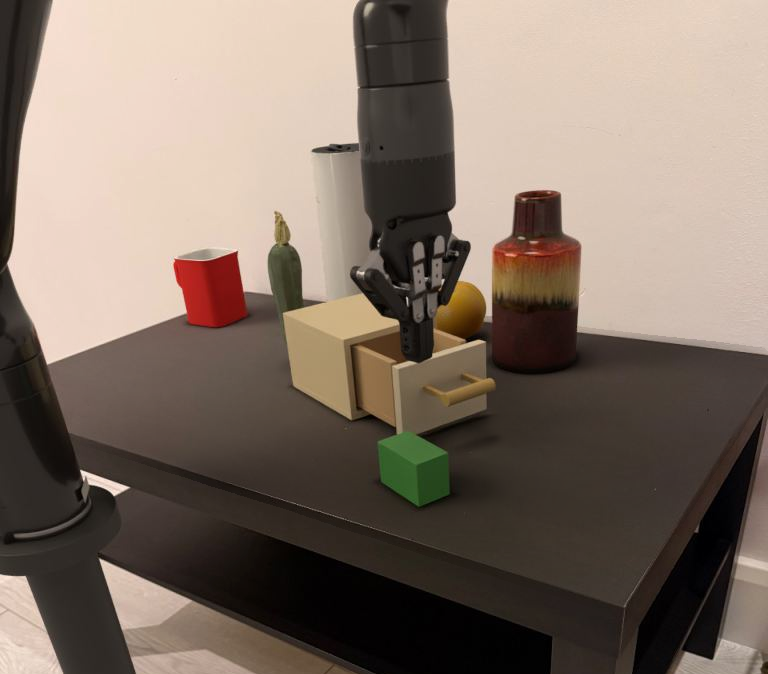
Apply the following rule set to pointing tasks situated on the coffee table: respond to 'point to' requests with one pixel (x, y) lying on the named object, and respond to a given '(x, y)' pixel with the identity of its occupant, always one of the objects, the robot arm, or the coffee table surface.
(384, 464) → the green rectangular prism
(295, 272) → the vegetable
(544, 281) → the vase
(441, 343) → the drawer
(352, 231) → the speaker
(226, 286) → the mug
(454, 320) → the fruit
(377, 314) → the cabinet
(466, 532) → the coffee table surface
